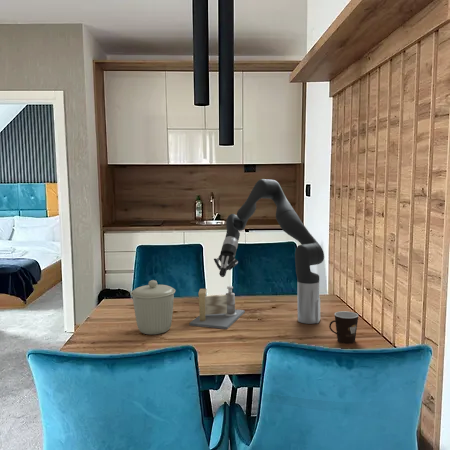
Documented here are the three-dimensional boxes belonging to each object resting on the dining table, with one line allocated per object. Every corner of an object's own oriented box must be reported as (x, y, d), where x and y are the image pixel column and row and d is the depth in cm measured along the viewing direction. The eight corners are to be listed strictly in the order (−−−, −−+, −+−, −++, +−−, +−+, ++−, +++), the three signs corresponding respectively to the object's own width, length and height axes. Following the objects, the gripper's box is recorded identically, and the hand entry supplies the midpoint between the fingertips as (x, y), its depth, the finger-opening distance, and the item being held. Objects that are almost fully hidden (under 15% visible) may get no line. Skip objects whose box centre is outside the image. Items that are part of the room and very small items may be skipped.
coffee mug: (353, 336, 173) (354, 310, 172) (361, 344, 164) (361, 317, 163) (323, 337, 173) (323, 311, 172) (329, 345, 164) (329, 318, 163)
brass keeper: (206, 323, 192) (205, 293, 191) (199, 323, 193) (198, 293, 191) (207, 317, 201) (206, 288, 199) (200, 317, 201) (199, 288, 199)
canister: (173, 338, 175) (171, 285, 173) (127, 338, 176) (125, 286, 174) (179, 323, 193) (177, 275, 191) (137, 323, 194) (135, 275, 192)
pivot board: (244, 312, 207) (244, 283, 205) (227, 329, 184) (226, 296, 183) (210, 309, 213) (209, 281, 211) (189, 325, 190) (188, 293, 189)
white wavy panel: (234, 311, 203) (233, 292, 202) (235, 313, 199) (235, 294, 198) (201, 313, 201) (200, 294, 200) (202, 316, 197) (201, 296, 196)
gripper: (215, 242, 228) (207, 271, 218) (240, 243, 224) (232, 272, 214) (219, 251, 234) (211, 279, 224) (243, 252, 229) (236, 281, 219)
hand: (221, 276), depth 219 cm, fingers closed
